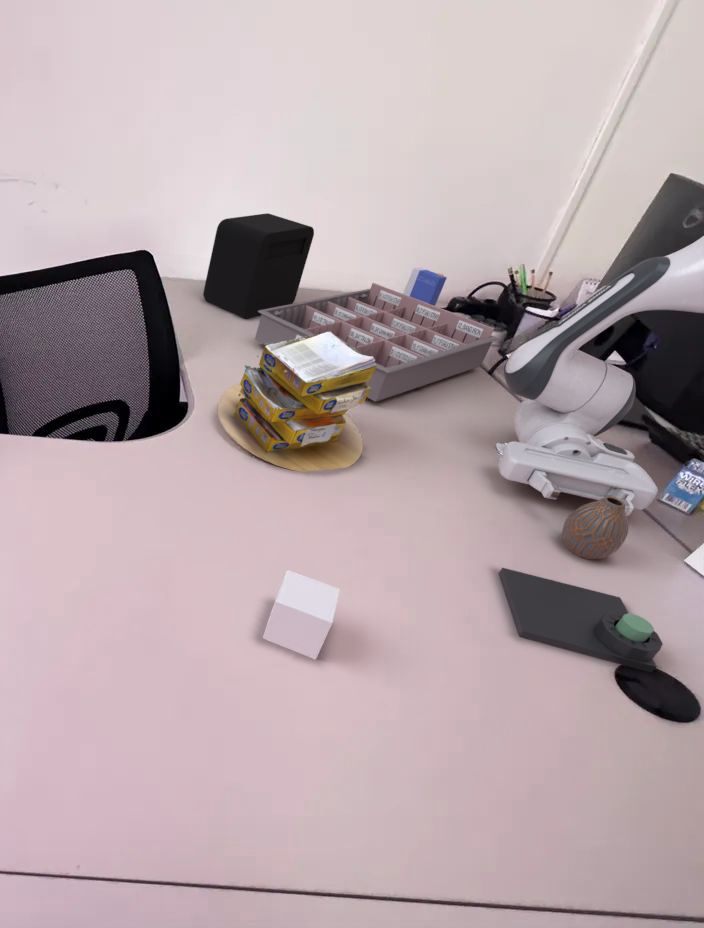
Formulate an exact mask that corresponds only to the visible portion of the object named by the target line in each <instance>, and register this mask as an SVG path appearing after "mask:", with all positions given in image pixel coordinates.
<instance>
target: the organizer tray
mask: <svg viewBox="0 0 704 928" xmlns="http://www.w3.org/2000/svg"><path fill="white" fill-rule="evenodd" d="M258 312H259V313H261V314H262V315H261V316H260V319H259V322H258V326H257V330H256V334H255V337H254V341H255V342H258V343H259V344H262V345H263V346H264V347H265V346H267V345H270V344H276V343H279V342H282V341H285V340H287V342H288V341H290V340H293V339H295V338H296V339H298V338H297V337H299V338H302V337H304V338H303V339H300V340H305V339H307V338H310V337H312V336H313V335H319V334H322V333H325V332H331V333H332V334H334V335H335V336H337V337H338V338H340V339H342V341H344V342H345V343H347V344H348V345H350V346H351V347H353V348H354V349H356V350H357V351H358V352H360V353H361V354H362V355H365V356H371V357H374V359H375V364H376V369H375V371H374V372H373V374H372V376H371V378H370V380H369V381H366V384H367V385H368V386H370V388H371V389H370V392H369V394H368V396H367V397H366V399H369V400H371V401H373V402H375V403H376V402H380V401H382V400H385V399H388V398H391V397H394V396H397V395H400V394H403V393H406V392H408V391H411V390H415V389H416V390H417V388H420V387H423V386H426V385H427V386H428V385H430V384H432V383H435V382H438V381H441V380H444V379H447V378H451V377H453V376H456V375H459V374H462V373H465V372H468V371H471V370H473V369H474V370H475V369H476V368H479V367H481V366H482V365H483V363H484V361H485V358H486V357H487V354H488V352H489V350H490V348H491V346H492V344H493V342H496V341H498V340H499V337H497V336H494V335H493V332H494V331H495V328H494V327H491V326H489V325H485V324H483V323H481V322H478V321H476V320H473V319H470V318H467V317H466V316H462V315H460V314H457V313H454V312H452V311H449V310H447V309H444V308H441V307H439V306H436V305H435V306H434V305H431V304H428V303H426V302H423V301H420V300H418V299H415V298H412V297H410V296H407V295H404V294H403V293H401V292H399V291H396V290H394V289H391V288H388V287H386V286H383V285H380V284H378V283H375V282H372V283H371V286H370V288H365V289H361V290H356V291H351V292H345V293H342V294H341V293H340V294H336V295H329V296H325V297H320V298H316V299H315V298H314V299H311V300H305V301H300V302H299V301H298V302H294V303H293V304H289V305H284V306H279V307H274V308H269V309H263V310H259V311H258ZM309 335H311V336H309ZM305 336H307V337H305ZM296 339H295V340H296ZM266 343H268V344H266Z"/></svg>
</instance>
